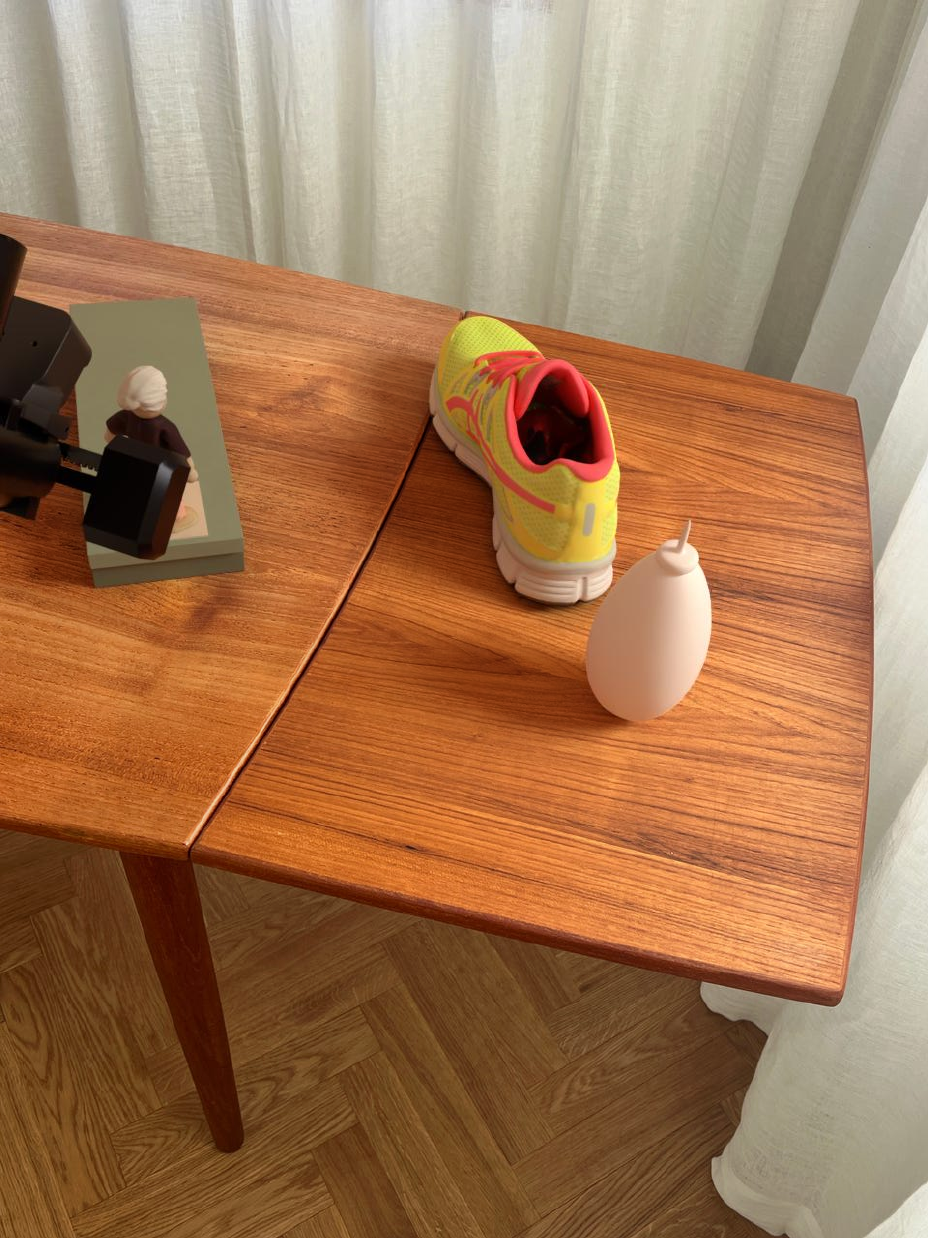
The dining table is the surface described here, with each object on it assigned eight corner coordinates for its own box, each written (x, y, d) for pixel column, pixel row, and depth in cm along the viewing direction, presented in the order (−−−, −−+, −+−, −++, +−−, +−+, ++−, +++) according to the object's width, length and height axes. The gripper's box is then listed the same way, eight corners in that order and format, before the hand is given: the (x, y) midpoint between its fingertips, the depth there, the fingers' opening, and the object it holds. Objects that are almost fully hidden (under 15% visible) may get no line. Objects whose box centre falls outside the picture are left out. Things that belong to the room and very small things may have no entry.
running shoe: (528, 365, 107) (552, 227, 96) (664, 599, 87) (713, 459, 77) (405, 378, 103) (415, 237, 93) (518, 625, 84) (548, 482, 73)
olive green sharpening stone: (246, 575, 84) (243, 535, 81) (95, 593, 82) (86, 552, 79) (198, 334, 104) (194, 294, 101) (76, 342, 102) (68, 301, 99)
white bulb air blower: (604, 645, 83) (660, 460, 70) (698, 695, 81) (774, 514, 68) (553, 711, 79) (602, 526, 65) (650, 767, 76) (722, 587, 63)
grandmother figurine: (220, 510, 83) (208, 368, 73) (197, 543, 80) (182, 401, 71) (125, 483, 84) (102, 340, 74) (100, 515, 81) (72, 371, 72)
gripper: (156, 336, 54) (263, 398, 69) (-173, 238, 57) (1, 319, 72) (91, 555, 55) (211, 568, 70) (-232, 447, 57) (-47, 483, 73)
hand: (93, 479), depth 71 cm, fingers open, 9 cm apart
